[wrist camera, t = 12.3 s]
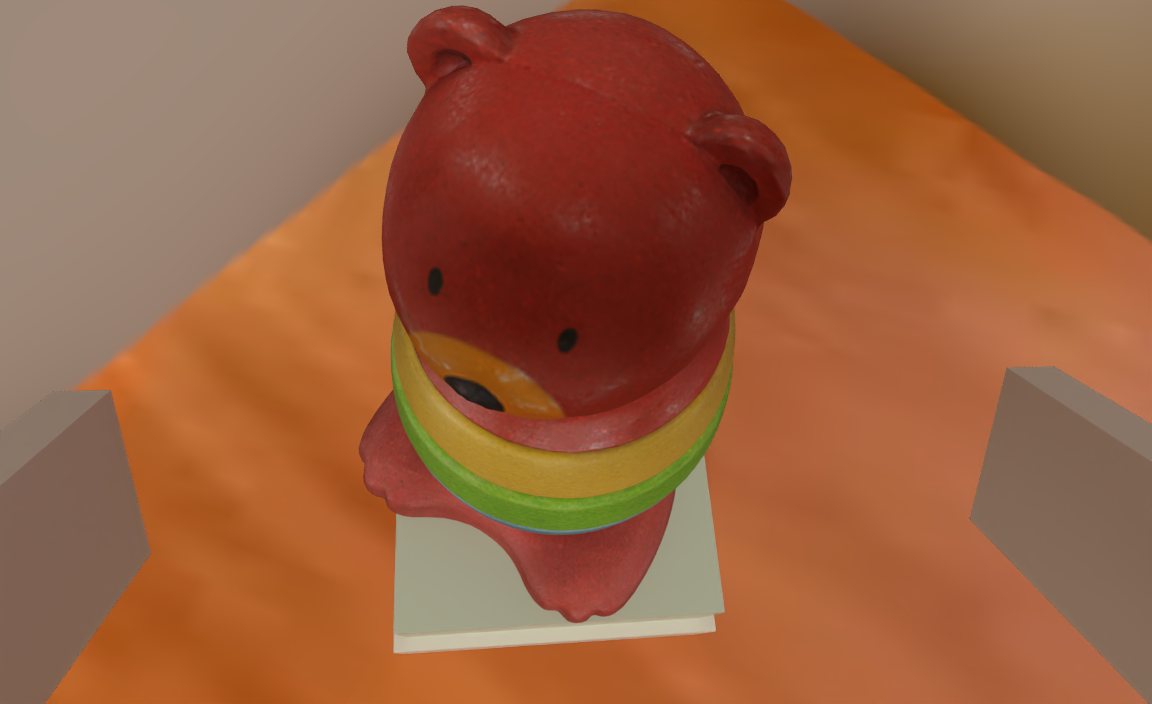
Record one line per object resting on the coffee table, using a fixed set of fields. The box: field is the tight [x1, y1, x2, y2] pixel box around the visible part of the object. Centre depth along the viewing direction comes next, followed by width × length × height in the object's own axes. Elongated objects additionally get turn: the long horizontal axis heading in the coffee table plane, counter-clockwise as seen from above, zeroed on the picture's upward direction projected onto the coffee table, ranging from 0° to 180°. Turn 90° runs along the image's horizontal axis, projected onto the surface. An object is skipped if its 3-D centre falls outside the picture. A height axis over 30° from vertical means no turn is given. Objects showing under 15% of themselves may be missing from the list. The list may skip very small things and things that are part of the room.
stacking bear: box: [359, 6, 792, 623], centre depth 19 cm, size 11×10×18 cm
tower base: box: [393, 456, 725, 654], centre depth 31 cm, size 12×14×7 cm
